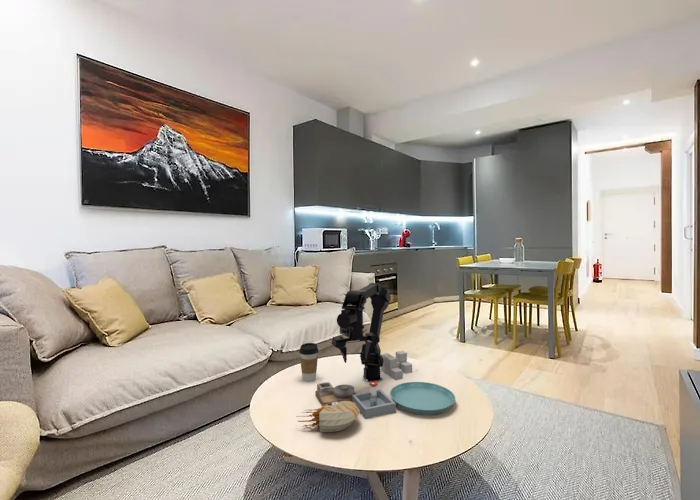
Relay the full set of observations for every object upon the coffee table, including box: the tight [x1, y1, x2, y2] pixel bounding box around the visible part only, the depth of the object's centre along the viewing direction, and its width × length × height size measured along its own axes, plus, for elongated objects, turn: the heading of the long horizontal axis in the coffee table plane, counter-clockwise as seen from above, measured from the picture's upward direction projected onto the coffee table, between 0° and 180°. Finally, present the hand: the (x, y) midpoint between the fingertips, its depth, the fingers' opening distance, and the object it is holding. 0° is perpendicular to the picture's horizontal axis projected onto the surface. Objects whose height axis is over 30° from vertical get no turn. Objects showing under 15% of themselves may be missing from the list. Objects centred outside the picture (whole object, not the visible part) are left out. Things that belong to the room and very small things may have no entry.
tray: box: [352, 389, 397, 419], centre depth 133 cm, size 12×12×3 cm
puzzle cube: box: [380, 350, 413, 381], centre depth 165 cm, size 12×12×8 cm
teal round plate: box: [389, 381, 456, 416], centre depth 137 cm, size 24×24×3 cm
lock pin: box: [368, 380, 378, 407], centre depth 132 cm, size 3×3×9 cm
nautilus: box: [295, 401, 361, 433], centre depth 120 cm, size 8×22×15 cm
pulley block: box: [314, 381, 357, 407], centre depth 140 cm, size 14×11×5 cm
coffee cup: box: [298, 342, 319, 383], centre depth 158 cm, size 8×8×15 cm
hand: (356, 360), depth 145 cm, fingers open, 9 cm apart
